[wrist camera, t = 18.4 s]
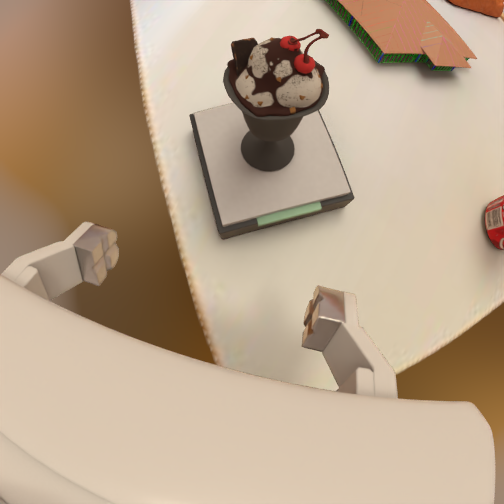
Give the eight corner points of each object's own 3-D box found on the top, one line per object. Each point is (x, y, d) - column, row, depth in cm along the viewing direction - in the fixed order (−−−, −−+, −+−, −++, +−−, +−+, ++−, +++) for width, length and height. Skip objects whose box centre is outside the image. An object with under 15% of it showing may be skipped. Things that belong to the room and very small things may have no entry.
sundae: (314, 170, 26) (374, 58, 11) (243, 189, 25) (237, 74, 11) (290, 112, 26) (317, -11, 12) (223, 128, 26) (205, 1, 11)
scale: (345, 208, 29) (358, 197, 25) (222, 241, 29) (218, 234, 25) (304, 104, 31) (310, 85, 27) (193, 128, 30) (187, 110, 26)
